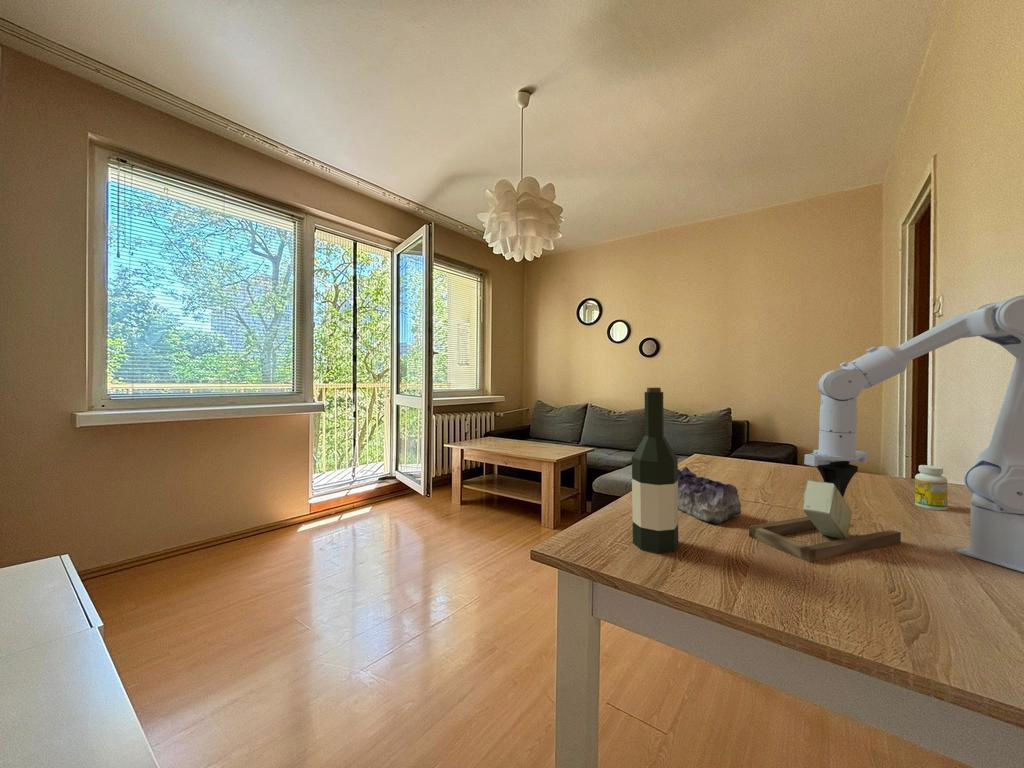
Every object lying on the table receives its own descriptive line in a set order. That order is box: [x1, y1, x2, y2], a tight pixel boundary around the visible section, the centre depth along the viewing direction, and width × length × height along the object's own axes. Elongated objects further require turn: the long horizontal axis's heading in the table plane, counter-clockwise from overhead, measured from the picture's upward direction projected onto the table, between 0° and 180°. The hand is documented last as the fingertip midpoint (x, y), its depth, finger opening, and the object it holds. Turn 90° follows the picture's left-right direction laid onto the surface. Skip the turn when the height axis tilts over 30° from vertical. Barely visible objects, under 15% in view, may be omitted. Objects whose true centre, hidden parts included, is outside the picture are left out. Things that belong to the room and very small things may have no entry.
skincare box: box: [801, 479, 853, 540], centre depth 78 cm, size 6×4×12 cm
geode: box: [678, 466, 742, 525], centre depth 97 cm, size 20×12×10 cm, turn 18°
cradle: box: [748, 516, 902, 563], centre depth 79 cm, size 12×24×2 cm, turn 108°
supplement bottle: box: [914, 464, 949, 511], centre depth 96 cm, size 5×5×10 cm
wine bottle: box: [631, 387, 679, 554], centre depth 77 cm, size 8×8×30 cm
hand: (835, 500), depth 80 cm, fingers closed, pressing on skincare box
